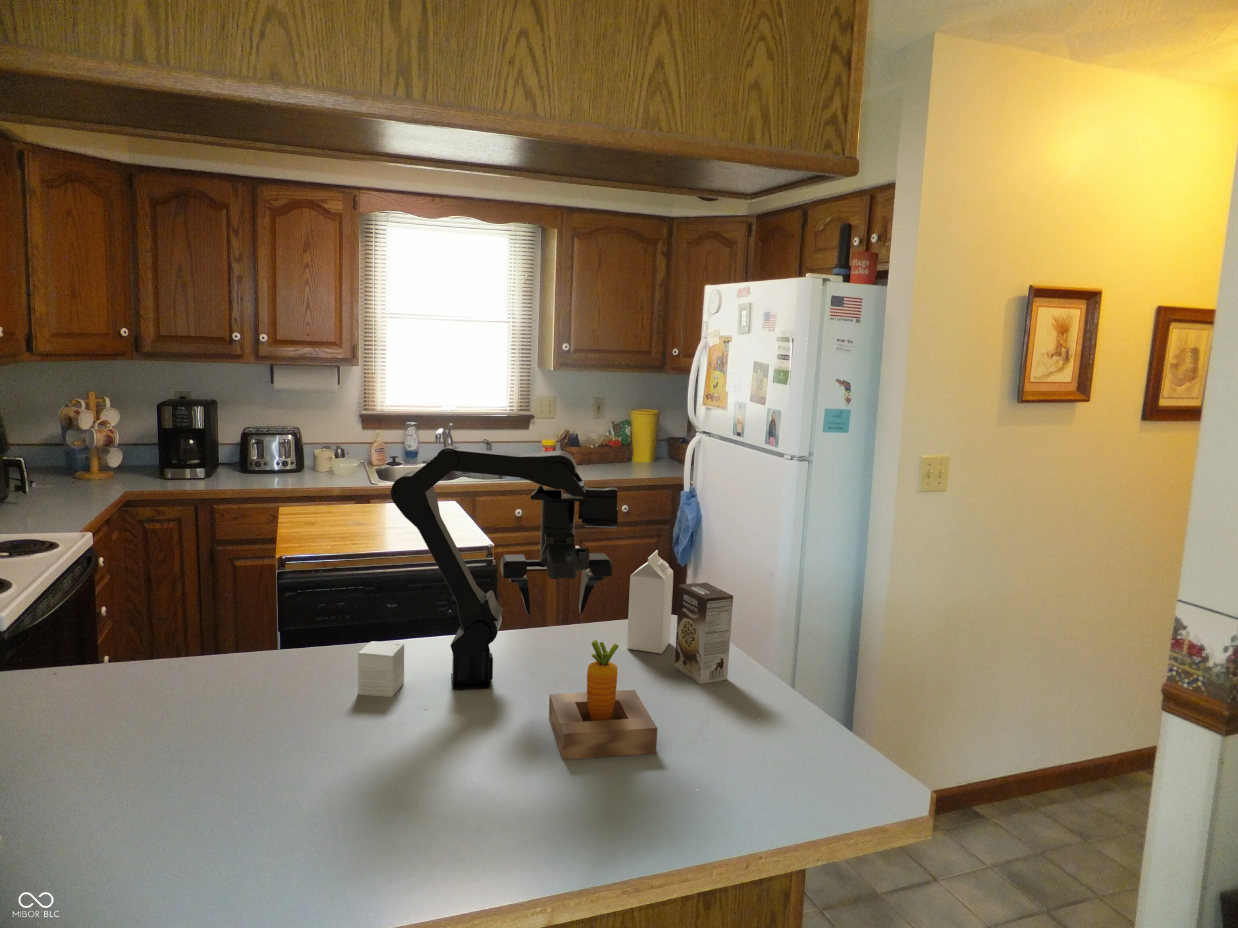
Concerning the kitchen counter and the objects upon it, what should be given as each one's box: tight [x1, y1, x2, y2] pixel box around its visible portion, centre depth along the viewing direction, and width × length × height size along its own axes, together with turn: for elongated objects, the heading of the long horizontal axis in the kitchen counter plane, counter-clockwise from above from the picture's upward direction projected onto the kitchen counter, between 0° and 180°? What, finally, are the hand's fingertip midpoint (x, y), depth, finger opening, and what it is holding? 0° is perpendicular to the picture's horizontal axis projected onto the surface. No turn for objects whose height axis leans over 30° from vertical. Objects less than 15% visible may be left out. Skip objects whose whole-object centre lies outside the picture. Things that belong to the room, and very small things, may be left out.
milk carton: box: [626, 549, 674, 654], centre depth 170 cm, size 7×7×19 cm
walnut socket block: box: [548, 689, 658, 761], centre depth 132 cm, size 14×14×4 cm
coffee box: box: [674, 582, 734, 685], centre depth 157 cm, size 9×6×16 cm
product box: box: [357, 640, 405, 698], centre depth 145 cm, size 6×6×7 cm
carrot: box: [586, 639, 620, 721], centre depth 131 cm, size 5×5×15 cm
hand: (554, 613), depth 148 cm, fingers open, 9 cm apart
